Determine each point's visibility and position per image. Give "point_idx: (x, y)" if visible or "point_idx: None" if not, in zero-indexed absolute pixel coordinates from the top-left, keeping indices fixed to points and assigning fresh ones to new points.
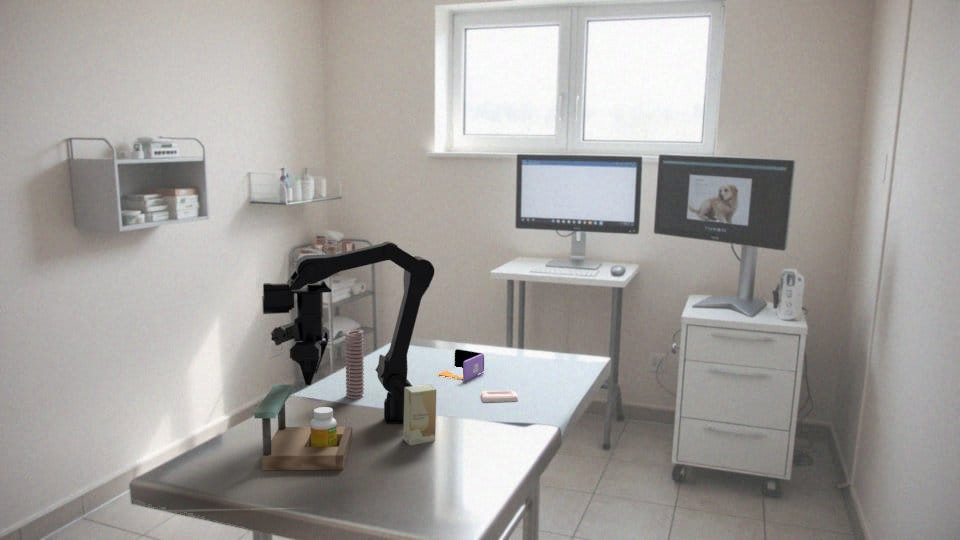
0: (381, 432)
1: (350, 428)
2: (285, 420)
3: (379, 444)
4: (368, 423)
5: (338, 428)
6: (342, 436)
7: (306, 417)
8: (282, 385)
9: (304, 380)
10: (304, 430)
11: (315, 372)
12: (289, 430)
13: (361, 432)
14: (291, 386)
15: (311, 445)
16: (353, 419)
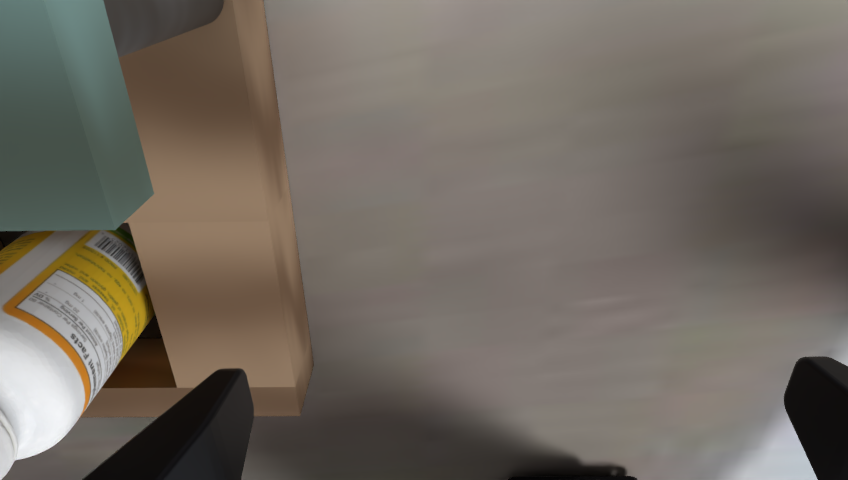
0: (413, 460)
1: (268, 411)
2: (177, 35)
3: (268, 462)
4: (538, 406)
5: (259, 358)
6: (141, 390)
7: (707, 64)
8: (4, 66)
9: (169, 409)
10: (188, 175)
11: (790, 398)
12: (167, 66)
13: (412, 390)
14: (7, 229)
15: (9, 244)
16: (610, 340)
